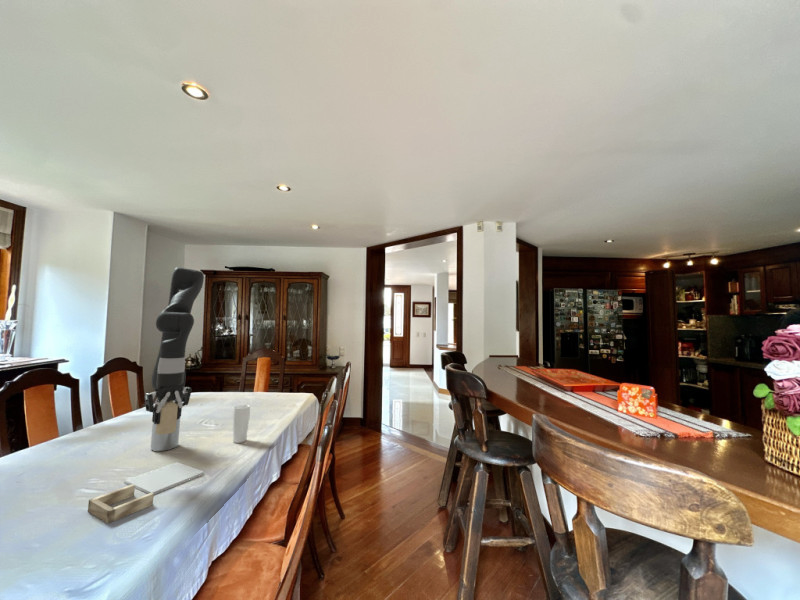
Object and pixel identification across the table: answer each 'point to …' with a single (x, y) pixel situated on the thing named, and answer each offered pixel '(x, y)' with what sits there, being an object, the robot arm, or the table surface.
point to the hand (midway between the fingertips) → (166, 421)
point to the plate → (163, 478)
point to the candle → (167, 418)
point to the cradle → (110, 514)
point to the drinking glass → (240, 423)
